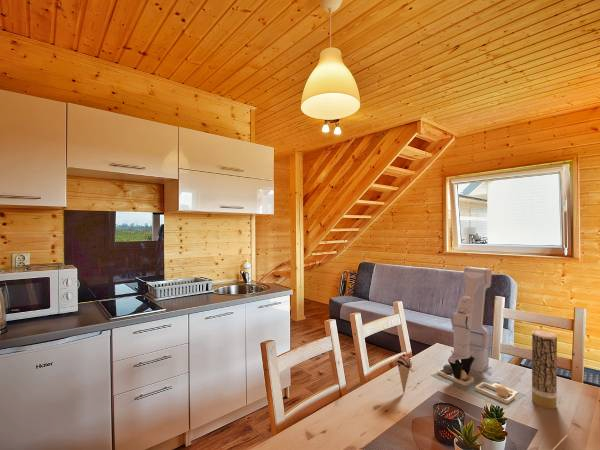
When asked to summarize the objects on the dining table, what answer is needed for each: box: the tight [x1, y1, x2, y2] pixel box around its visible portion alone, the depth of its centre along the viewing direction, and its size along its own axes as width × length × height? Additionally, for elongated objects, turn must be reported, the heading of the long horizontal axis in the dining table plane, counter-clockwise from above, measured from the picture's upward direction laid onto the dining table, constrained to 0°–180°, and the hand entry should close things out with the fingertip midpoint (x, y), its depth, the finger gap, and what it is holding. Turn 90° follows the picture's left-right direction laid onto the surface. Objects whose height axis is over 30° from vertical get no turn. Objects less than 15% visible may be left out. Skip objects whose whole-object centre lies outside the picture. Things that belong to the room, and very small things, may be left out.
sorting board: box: [430, 367, 526, 410], centre depth 122 cm, size 16×28×2 cm, turn 34°
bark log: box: [531, 329, 558, 410], centre depth 109 cm, size 7×7×25 cm
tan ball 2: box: [496, 384, 509, 398], centre depth 113 cm, size 4×4×4 cm
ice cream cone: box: [395, 353, 413, 393], centre depth 117 cm, size 6×6×15 cm
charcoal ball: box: [442, 364, 453, 375], centre depth 130 cm, size 4×4×4 cm
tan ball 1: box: [459, 370, 467, 380], centre depth 126 cm, size 4×4×4 cm
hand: (461, 376), depth 126 cm, fingers open, 6 cm apart
